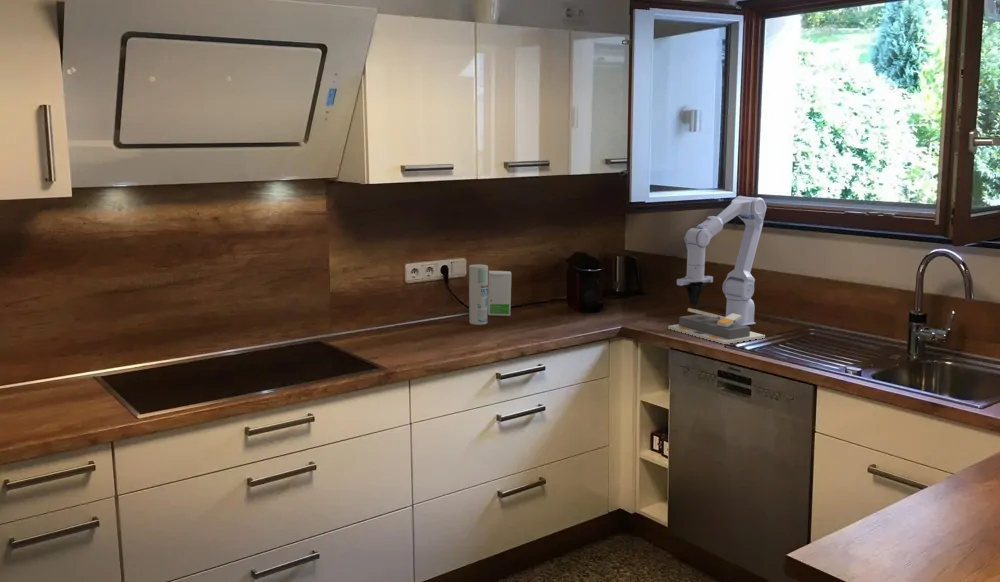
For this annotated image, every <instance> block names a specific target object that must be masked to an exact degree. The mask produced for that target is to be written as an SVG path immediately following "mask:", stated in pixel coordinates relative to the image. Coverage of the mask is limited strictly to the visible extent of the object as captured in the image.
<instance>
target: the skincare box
mask: <svg viewBox="0 0 1000 582" xmlns="http://www.w3.org/2000/svg"><path fill="white" fill-rule="evenodd" d="M511 299H512V272H511V271H505V270H488V310H487V316H496V317H497V316H499V317H501V316H503V317H506V316H507V317H511V306H512V305H511V303H512V302H511V301H512V300H511Z"/></svg>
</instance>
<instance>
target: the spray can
mask: <svg viewBox="0 0 1000 582" xmlns="http://www.w3.org/2000/svg"><path fill="white" fill-rule="evenodd" d="M488 280H489V266H488V265H487V264H480V263H479V264H477V263H475V264H469V266H468V300H469V301H468V302H469V303H468V311H469V314H468V317H469V319H468V321H469V324H470V325H479V326H480V325H487V324H488Z"/></svg>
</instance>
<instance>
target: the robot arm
mask: <svg viewBox="0 0 1000 582" xmlns="http://www.w3.org/2000/svg"><path fill="white" fill-rule="evenodd" d="M767 208H768V207H767V204H766V203H765V200H764V199H763V198H762V197H753V196H752V197H751V196H743V195H738V196H736V197H735V198H734V199H731V202H730V204H729V205H728V206H727V207H726V208H725V209H723V211H721V212H720V213H719V214H718V215H717V216H715V215H711V216H710V215H709V216H707V217H706V220H704V221H703V222H702V223H700V224H698V225H697V226H696V227H693V228H692V227H691V228H689V229H688V230H686V233H685V236H683V239H684V242H685V245H686V250H687V258H686V275H685V276H684V277H682V278H677V279H676V285H677V286H679V287H681V286H684V289H685V290H686V292H687V296H688V299H689V305H691V306H694V307H695V306H698V304H699V302H700V298H701V295H702V293H703V292H704V290H705V288H706V284H705V283H713V282H714V276H711V275H705V264H706V248H707V247H706V246H708V245H709V244H710V242H711V240H712V238H713V237H714V236H716V235H717V234H719V233H720V232H721V231H722V230H723V228H724V225H725V224H727V223H728V222H730V221H731V220H733V219H734V218H735V217H738V218H739V219H740V220H741V221H743V223H744V225H745V227H744V232H743V235H742V239H741V243H740V247H739V251H738V255H737V258H736V262H735V265H734V269H733V270H731V271H729V273H727V276H726V278H725V280H724V281H723V283H722V292H723V294H724V297H725V298H726V305H725V306H726V307H725V309H726V310H725V317H727V316H728V315H730V314H732V313H734V314H738V315H742V319H740V320H738V321H737V322H736V324H740V325H744V326H750V325H756V324H757V323H756V322H755V311H756V310H755V309H756V308H755V303H754V300H753V299H752V297H753V296H754V293H755V281H756V279H755V277H754V276H753V275H752V274H751V272H752V267H753V263H754V259H755V256H756V253H757V249H758V245H759V241H760V237H761V234H762V229H763V226H764V219H765V216H766V213H767V212H766V211H767Z"/></svg>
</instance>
